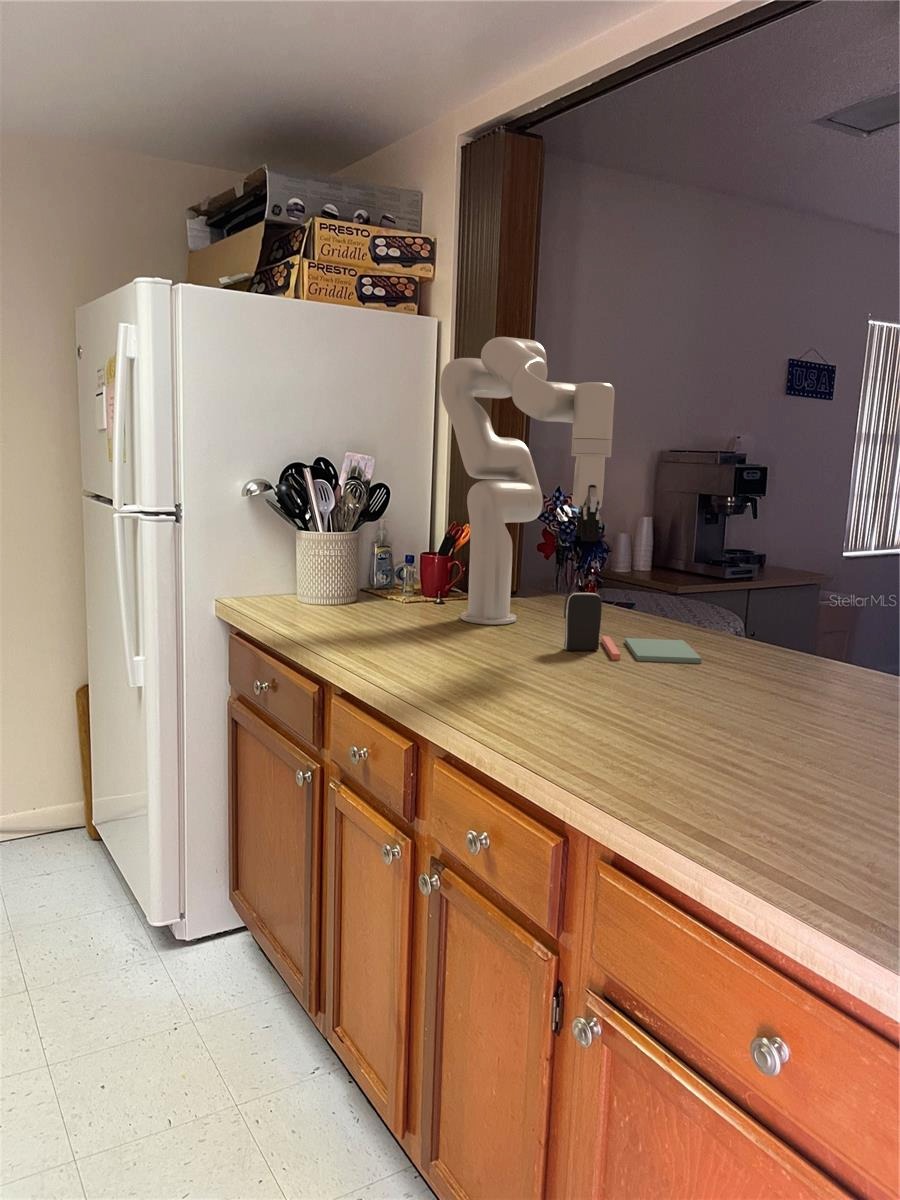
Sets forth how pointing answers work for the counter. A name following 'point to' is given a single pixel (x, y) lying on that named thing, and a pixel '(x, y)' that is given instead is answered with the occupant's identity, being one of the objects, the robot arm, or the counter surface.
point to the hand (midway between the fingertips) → (586, 538)
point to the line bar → (610, 648)
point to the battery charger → (582, 621)
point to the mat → (662, 650)
